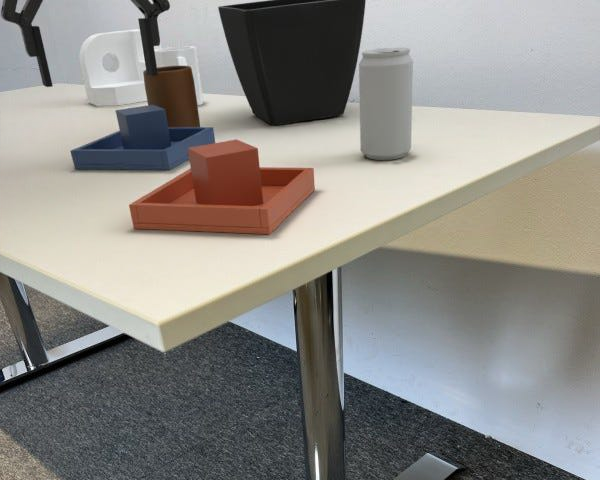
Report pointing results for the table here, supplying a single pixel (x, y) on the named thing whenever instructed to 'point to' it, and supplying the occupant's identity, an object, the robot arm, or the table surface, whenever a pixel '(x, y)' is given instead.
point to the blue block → (144, 128)
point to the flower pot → (295, 55)
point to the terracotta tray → (223, 218)
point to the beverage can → (385, 103)
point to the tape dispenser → (114, 68)
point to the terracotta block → (226, 174)
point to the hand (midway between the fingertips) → (101, 80)
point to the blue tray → (141, 151)
